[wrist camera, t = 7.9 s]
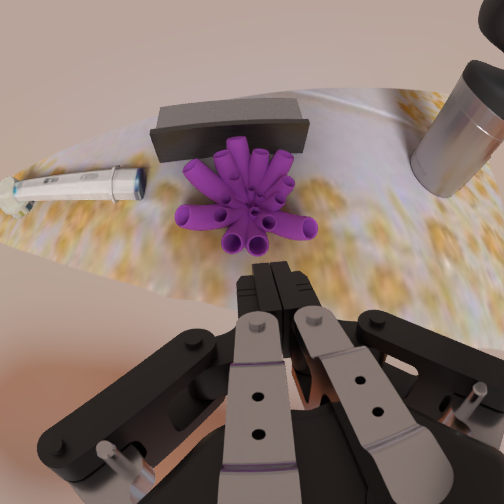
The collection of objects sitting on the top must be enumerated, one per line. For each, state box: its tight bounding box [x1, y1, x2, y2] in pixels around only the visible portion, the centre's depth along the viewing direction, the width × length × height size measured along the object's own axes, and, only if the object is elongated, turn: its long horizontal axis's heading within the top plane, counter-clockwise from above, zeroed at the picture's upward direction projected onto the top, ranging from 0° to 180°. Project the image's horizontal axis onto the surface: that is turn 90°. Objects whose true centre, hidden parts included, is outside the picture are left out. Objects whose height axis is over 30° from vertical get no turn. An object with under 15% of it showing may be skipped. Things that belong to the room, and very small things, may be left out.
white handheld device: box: [0, 165, 146, 219], centre depth 31 cm, size 5×7×25 cm
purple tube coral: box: [175, 136, 318, 256], centre depth 29 cm, size 11×15×10 cm
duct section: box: [150, 98, 310, 163], centre depth 34 cm, size 19×6×6 cm, turn 95°
